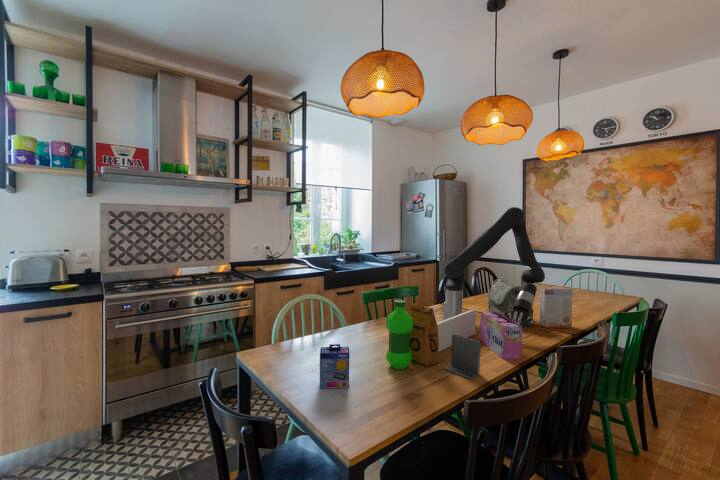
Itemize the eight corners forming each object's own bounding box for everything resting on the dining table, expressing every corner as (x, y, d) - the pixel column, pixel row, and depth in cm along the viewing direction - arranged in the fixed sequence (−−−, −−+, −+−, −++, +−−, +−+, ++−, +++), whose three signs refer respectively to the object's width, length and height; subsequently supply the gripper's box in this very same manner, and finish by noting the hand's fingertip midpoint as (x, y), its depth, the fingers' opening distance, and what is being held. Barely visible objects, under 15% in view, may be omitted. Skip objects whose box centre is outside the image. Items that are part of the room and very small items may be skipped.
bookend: (444, 370, 123) (445, 338, 122) (453, 364, 128) (453, 334, 127) (471, 379, 116) (471, 345, 115) (479, 373, 120) (480, 341, 120)
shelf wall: (427, 354, 137) (427, 326, 137) (472, 332, 165) (473, 309, 165) (430, 356, 136) (430, 327, 135) (475, 333, 164) (475, 309, 164)
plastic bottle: (406, 374, 119) (407, 305, 118) (380, 367, 125) (381, 301, 123) (417, 364, 127) (418, 300, 126) (392, 358, 133) (393, 297, 132)
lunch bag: (484, 313, 201) (484, 277, 200) (514, 314, 201) (515, 278, 200) (501, 327, 175) (502, 286, 174) (536, 327, 175) (537, 286, 174)
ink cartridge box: (319, 389, 108) (319, 345, 107) (319, 381, 113) (320, 339, 113) (349, 388, 109) (349, 345, 108) (348, 380, 114) (349, 339, 114)
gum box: (477, 339, 157) (478, 310, 156) (494, 338, 157) (494, 310, 157) (502, 359, 133) (503, 326, 132) (522, 359, 134) (523, 326, 133)
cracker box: (565, 325, 179) (567, 286, 178) (571, 328, 173) (573, 289, 172) (538, 324, 181) (540, 286, 180) (543, 327, 175) (545, 288, 174)
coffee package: (425, 369, 124) (426, 310, 123) (402, 358, 134) (403, 304, 133) (443, 362, 129) (444, 307, 128) (419, 352, 140) (420, 300, 138)
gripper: (507, 296, 162) (496, 326, 154) (537, 300, 152) (527, 333, 144) (511, 304, 166) (501, 334, 158) (540, 309, 157) (530, 341, 148)
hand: (513, 333), depth 151 cm, fingers closed
